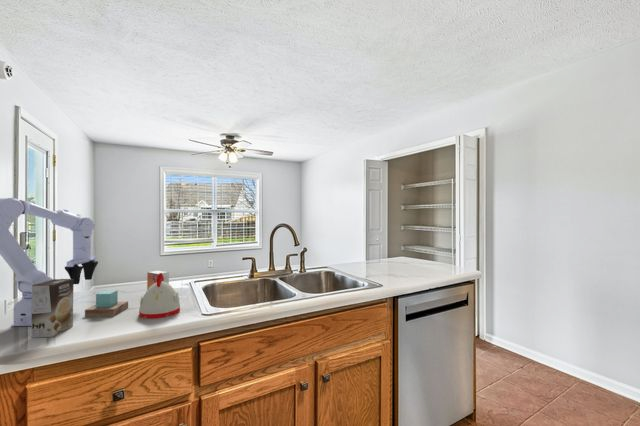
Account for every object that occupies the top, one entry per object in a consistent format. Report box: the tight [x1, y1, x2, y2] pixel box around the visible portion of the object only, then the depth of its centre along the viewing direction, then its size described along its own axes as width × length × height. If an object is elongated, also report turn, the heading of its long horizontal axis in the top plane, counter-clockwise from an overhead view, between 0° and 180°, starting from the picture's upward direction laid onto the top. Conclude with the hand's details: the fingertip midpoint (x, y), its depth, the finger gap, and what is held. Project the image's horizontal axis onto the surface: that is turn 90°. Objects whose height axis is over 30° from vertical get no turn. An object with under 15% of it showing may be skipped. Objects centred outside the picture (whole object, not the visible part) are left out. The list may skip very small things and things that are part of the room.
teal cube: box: [95, 289, 119, 307], centre depth 119 cm, size 5×5×5 cm
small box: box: [146, 270, 170, 291], centre depth 143 cm, size 8×6×10 cm
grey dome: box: [138, 273, 181, 320], centre depth 119 cm, size 14×14×15 cm
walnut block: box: [84, 300, 129, 318], centre depth 119 cm, size 10×10×3 cm
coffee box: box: [30, 278, 74, 338], centre depth 99 cm, size 9×6×16 cm
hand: (82, 281), depth 123 cm, fingers open, 7 cm apart
